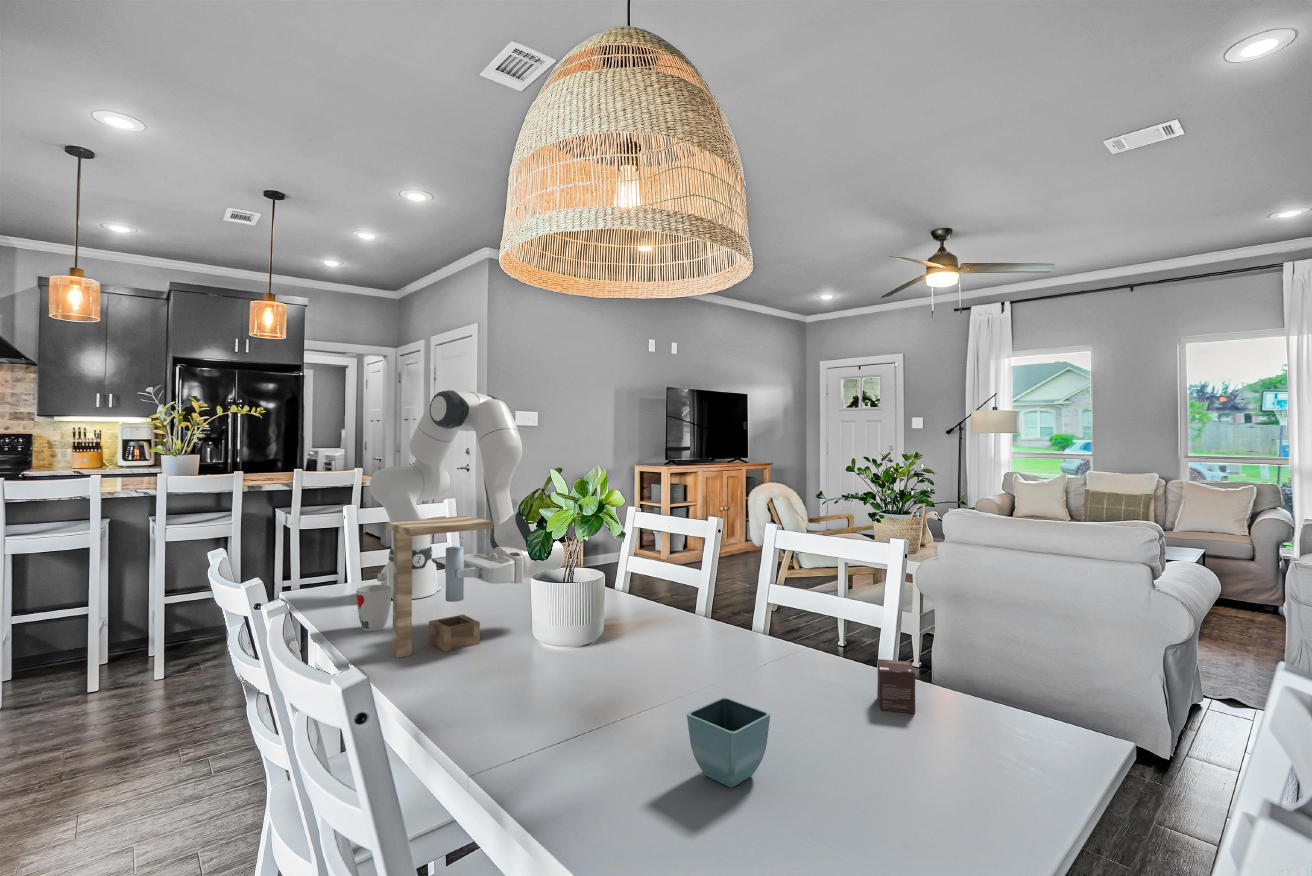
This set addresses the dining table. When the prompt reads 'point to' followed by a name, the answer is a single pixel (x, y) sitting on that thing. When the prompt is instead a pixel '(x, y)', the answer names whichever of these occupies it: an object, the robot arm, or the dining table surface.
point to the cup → (373, 606)
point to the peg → (453, 583)
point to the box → (896, 686)
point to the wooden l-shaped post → (404, 568)
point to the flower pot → (728, 739)
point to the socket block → (454, 632)
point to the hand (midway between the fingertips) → (451, 572)
